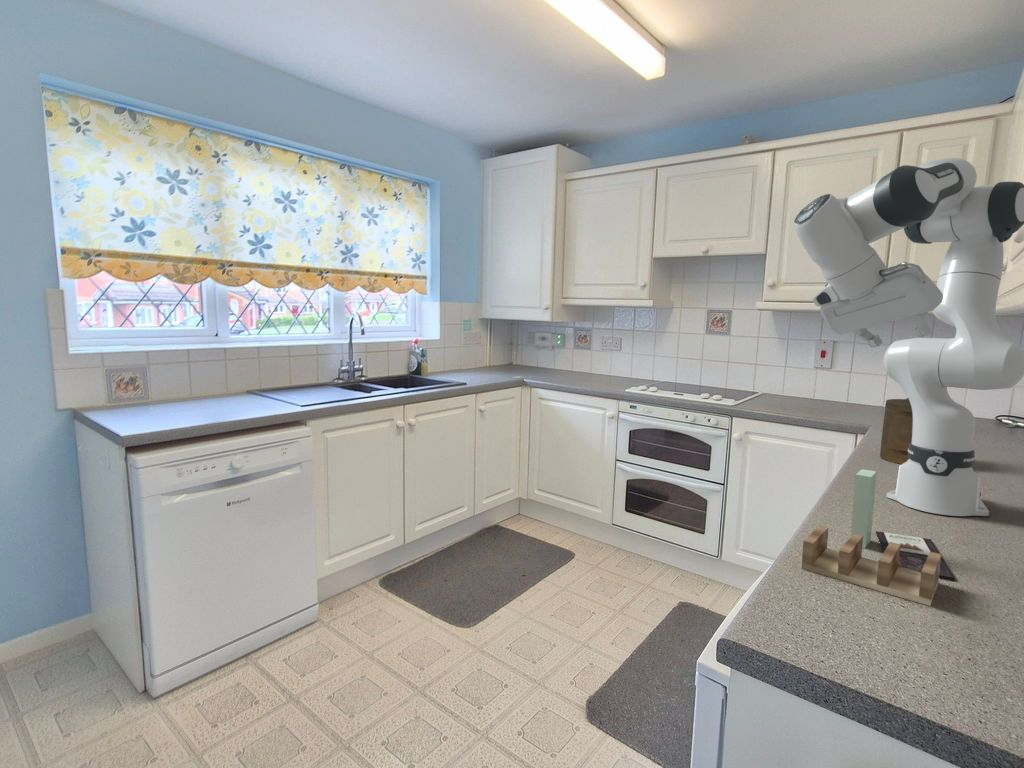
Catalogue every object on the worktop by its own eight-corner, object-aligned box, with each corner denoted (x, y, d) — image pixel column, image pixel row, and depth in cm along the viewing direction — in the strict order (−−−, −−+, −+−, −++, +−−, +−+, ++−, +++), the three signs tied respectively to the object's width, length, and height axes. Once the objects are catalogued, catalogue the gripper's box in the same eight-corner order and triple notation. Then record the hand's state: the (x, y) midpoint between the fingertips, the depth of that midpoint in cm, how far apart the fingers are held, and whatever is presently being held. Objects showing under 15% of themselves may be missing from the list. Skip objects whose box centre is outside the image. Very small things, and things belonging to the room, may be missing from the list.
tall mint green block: (856, 537, 108) (861, 469, 106) (870, 540, 106) (876, 471, 105) (850, 544, 105) (855, 474, 103) (865, 548, 103) (871, 477, 101)
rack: (817, 550, 102) (819, 525, 101) (938, 582, 89) (941, 554, 89) (801, 568, 95) (803, 541, 94) (930, 606, 82) (933, 574, 82)
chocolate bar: (890, 566, 94) (875, 531, 110) (889, 572, 94) (875, 535, 110) (955, 578, 90) (930, 539, 106) (954, 583, 90) (930, 543, 106)
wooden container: (951, 468, 158) (958, 393, 155) (895, 465, 160) (902, 392, 158) (921, 455, 173) (927, 387, 170) (870, 453, 175) (876, 386, 172)
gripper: (924, 249, 89) (969, 317, 90) (824, 286, 109) (862, 341, 110) (902, 268, 88) (949, 338, 88) (805, 302, 107) (843, 359, 108)
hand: (900, 340), depth 99 cm, fingers open, 8 cm apart
